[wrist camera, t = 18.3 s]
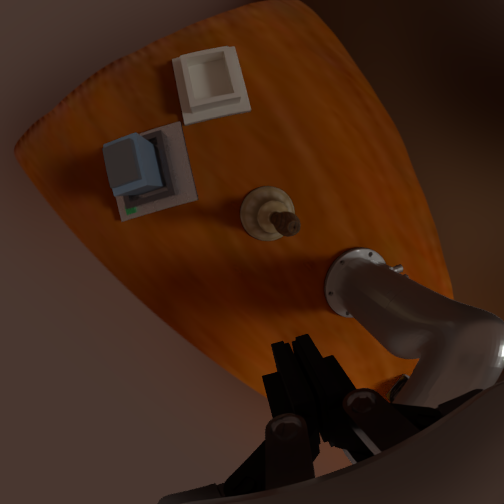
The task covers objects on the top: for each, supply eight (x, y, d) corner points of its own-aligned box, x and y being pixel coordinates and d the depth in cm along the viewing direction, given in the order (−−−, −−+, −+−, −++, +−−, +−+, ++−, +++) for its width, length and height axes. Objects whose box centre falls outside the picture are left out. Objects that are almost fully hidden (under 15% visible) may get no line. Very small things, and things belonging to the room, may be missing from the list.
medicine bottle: (403, 373, 53) (430, 401, 41) (416, 378, 55) (442, 405, 43) (384, 395, 54) (408, 425, 42) (399, 399, 55) (422, 427, 44)
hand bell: (253, 249, 42) (273, 283, 27) (231, 199, 40) (239, 204, 25) (301, 227, 42) (346, 248, 27) (282, 178, 40) (319, 171, 25)
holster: (234, 48, 35) (235, 37, 31) (250, 111, 37) (253, 103, 34) (172, 61, 34) (168, 51, 30) (185, 125, 37) (182, 119, 33)
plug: (157, 147, 36) (131, 129, 23) (166, 186, 37) (143, 184, 25) (132, 156, 35) (97, 142, 23) (141, 194, 37) (108, 196, 25)
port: (181, 123, 37) (176, 114, 32) (198, 199, 39) (195, 200, 35) (108, 147, 36) (96, 142, 31) (124, 220, 39) (113, 224, 34)
